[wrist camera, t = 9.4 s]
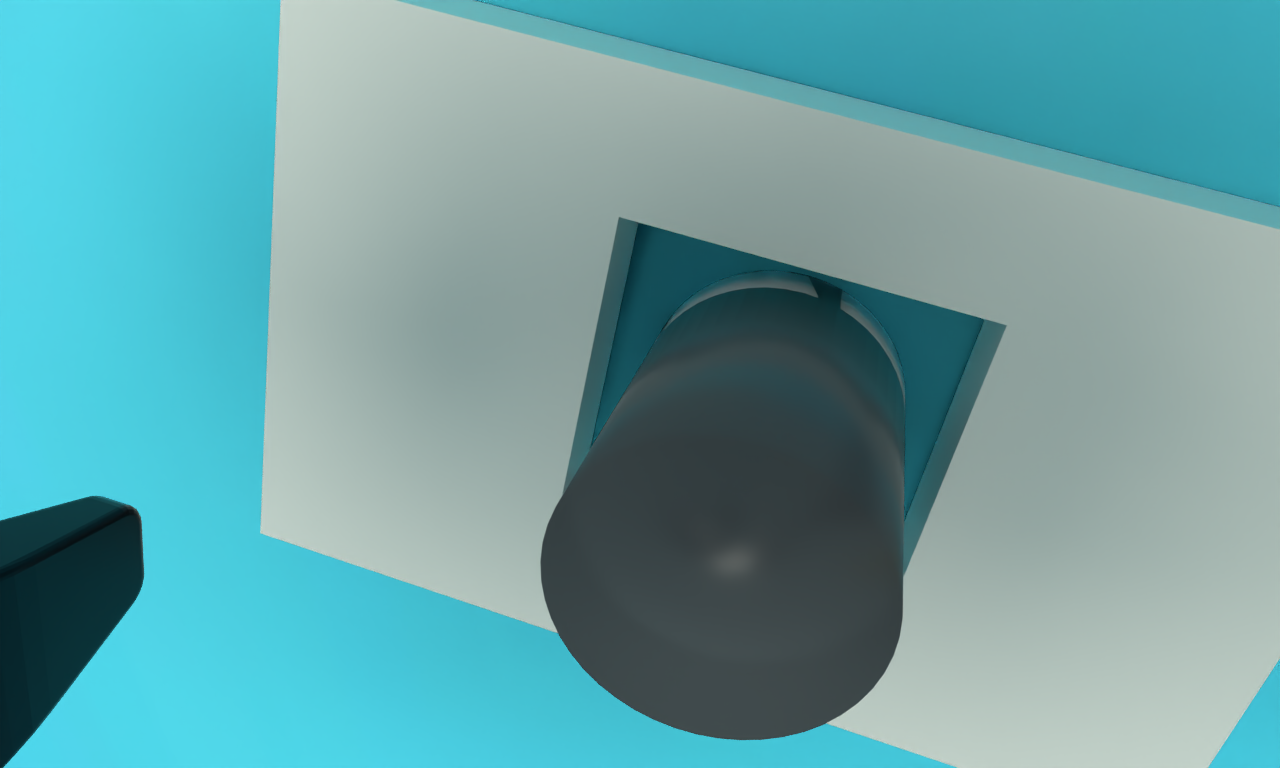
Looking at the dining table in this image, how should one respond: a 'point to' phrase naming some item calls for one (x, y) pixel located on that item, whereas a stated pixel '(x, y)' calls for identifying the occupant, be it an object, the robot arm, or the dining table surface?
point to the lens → (741, 516)
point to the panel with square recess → (814, 240)
